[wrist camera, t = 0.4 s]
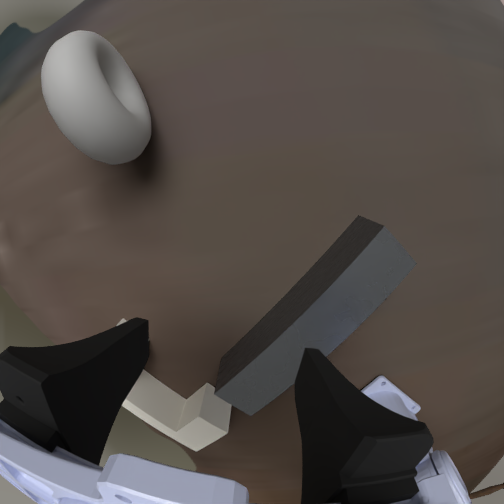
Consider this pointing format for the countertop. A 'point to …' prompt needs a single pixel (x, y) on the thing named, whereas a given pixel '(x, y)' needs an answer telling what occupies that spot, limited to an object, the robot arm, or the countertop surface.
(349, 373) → the countertop surface
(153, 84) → the countertop surface
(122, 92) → the donut
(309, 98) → the countertop surface
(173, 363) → the countertop surface
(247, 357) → the rail
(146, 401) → the cream u-shaped cradle
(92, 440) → the robot arm
